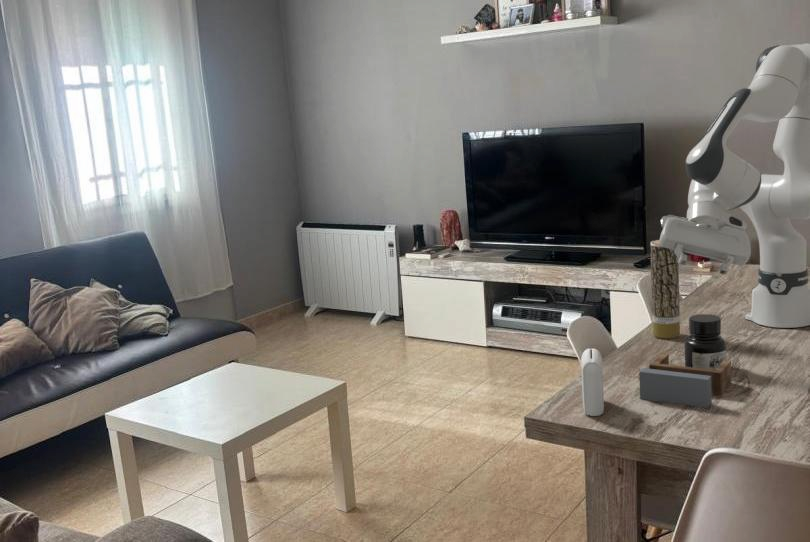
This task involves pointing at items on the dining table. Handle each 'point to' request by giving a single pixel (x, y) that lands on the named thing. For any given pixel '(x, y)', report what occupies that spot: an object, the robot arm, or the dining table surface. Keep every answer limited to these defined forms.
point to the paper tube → (665, 292)
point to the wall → (675, 387)
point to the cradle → (699, 372)
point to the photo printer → (592, 382)
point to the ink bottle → (704, 342)
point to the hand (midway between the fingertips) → (703, 267)
